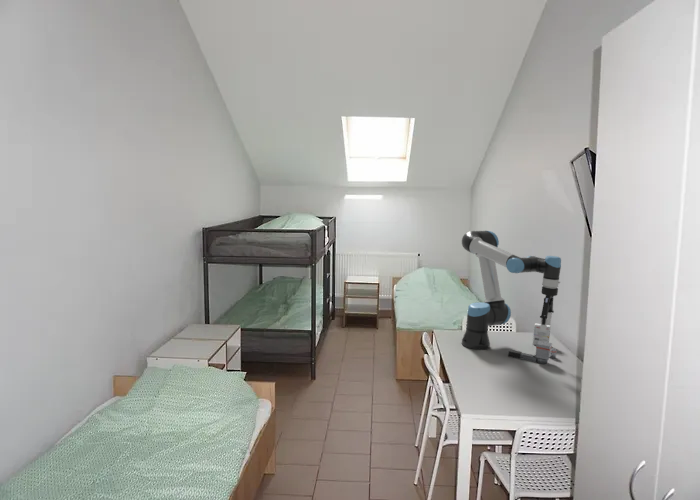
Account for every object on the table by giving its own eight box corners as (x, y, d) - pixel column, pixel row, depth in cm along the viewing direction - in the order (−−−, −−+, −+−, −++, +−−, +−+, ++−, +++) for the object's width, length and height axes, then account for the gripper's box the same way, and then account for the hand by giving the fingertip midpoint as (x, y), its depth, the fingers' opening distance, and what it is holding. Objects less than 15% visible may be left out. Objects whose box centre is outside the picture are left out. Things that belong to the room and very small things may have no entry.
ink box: (548, 344, 296) (550, 324, 295) (548, 347, 292) (550, 327, 290) (532, 342, 299) (534, 322, 297) (532, 344, 294) (534, 324, 293)
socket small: (546, 357, 274) (547, 349, 273) (548, 355, 277) (549, 347, 277) (555, 359, 272) (556, 350, 271) (556, 357, 275) (557, 348, 275)
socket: (535, 357, 264) (536, 343, 263) (537, 353, 269) (538, 340, 268) (548, 359, 261) (550, 346, 260) (550, 356, 266) (552, 343, 265)
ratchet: (507, 356, 271) (509, 343, 270) (510, 353, 276) (511, 341, 275) (546, 365, 262) (547, 351, 261) (548, 361, 267) (549, 348, 266)
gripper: (554, 292, 248) (548, 334, 251) (561, 284, 269) (556, 323, 272) (537, 289, 251) (532, 331, 254) (546, 282, 273) (541, 321, 276)
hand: (545, 327), depth 263 cm, fingers open, 13 cm apart
